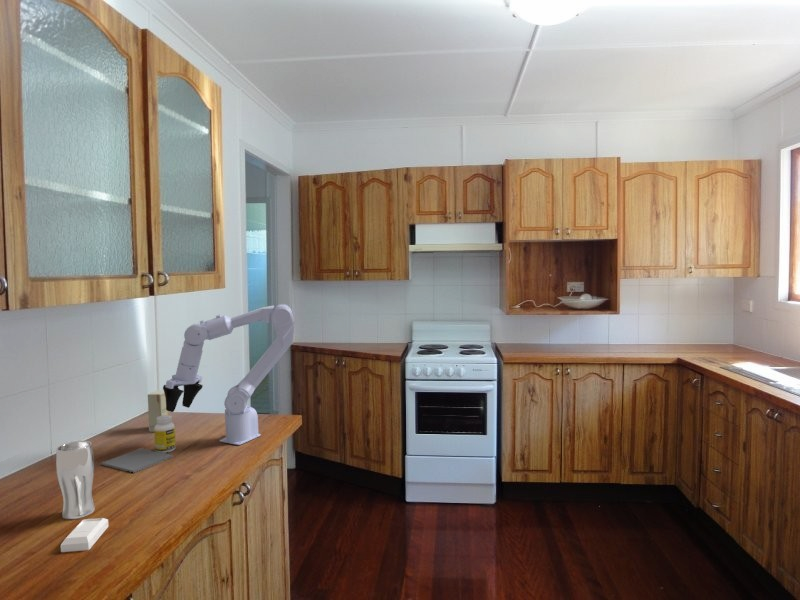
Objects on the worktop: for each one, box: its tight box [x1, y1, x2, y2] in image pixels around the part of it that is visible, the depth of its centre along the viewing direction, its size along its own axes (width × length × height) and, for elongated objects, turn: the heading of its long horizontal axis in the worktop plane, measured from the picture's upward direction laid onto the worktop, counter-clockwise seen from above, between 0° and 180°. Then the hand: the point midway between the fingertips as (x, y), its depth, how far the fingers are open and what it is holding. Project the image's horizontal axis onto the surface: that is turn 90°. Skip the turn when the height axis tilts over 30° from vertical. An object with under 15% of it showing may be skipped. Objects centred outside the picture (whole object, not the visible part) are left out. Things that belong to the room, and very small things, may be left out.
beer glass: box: [55, 440, 96, 520], centre depth 116 cm, size 7×7×15 cm
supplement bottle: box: [153, 414, 176, 454], centre depth 154 cm, size 5×5×10 cm
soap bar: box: [60, 517, 109, 553], centre depth 106 cm, size 5×9×3 cm, turn 7°
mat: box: [101, 447, 173, 474], centre depth 146 cm, size 12×13×1 cm
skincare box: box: [147, 389, 171, 433], centre depth 173 cm, size 6×4×12 cm
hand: (178, 408), depth 157 cm, fingers open, 7 cm apart
